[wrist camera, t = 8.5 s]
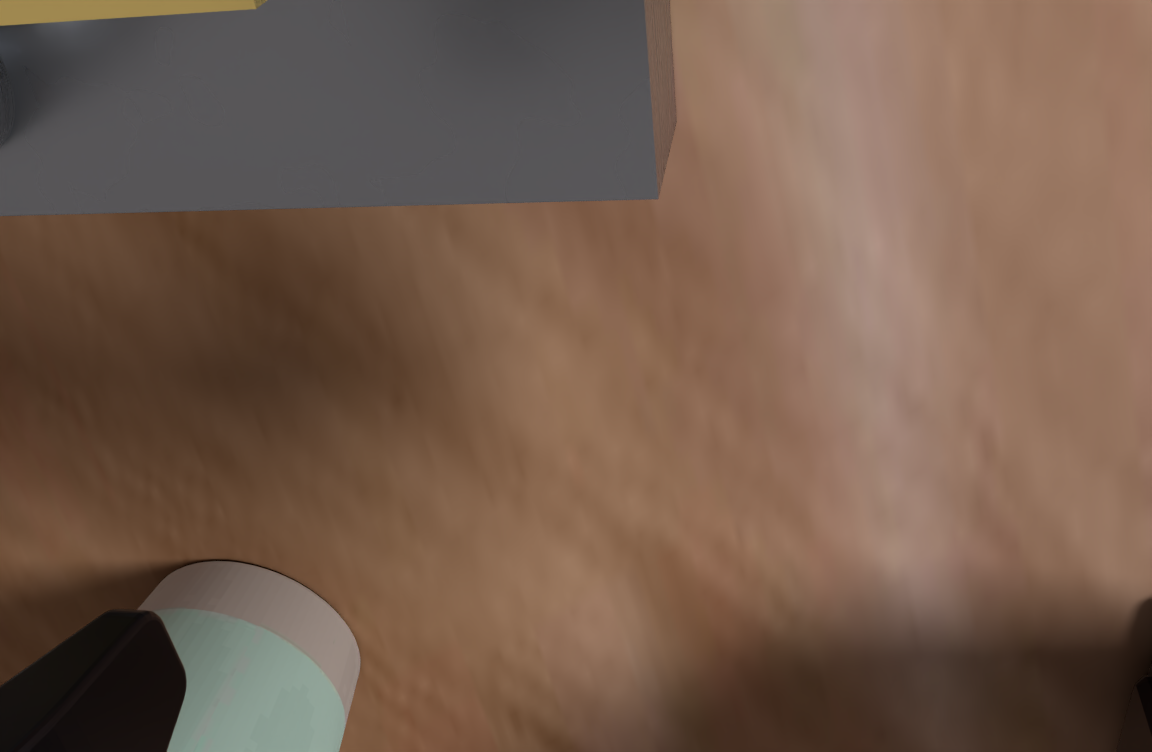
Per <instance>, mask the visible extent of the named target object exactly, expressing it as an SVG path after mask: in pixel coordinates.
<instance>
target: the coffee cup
mask: <svg viewBox="0 0 1152 752" xmlns="http://www.w3.org/2000/svg"><path fill="white" fill-rule="evenodd" d="M137 610H149V611H153V612H155V613H156V614H157V615H158V616H160V617H161V619H162V621H163V623H164V625H165V627H166V629H167V631H168V633H169V635H170V638H171V640H172V642H173V644H174V646H175V648H176V651H177V653H178V655H179V657H180V659H181V661H182V664H183V666H184V669H185V672H186V679H187V686H186V693H185V698H184V701H183V704H182V708H181V711H180V714H179V717H178V720H177V723H176V726H175V729H174V732H173V735H172V738H171V741H170V744H169V747H168V750H167V752H339V749H340V745H341V741H342V738H343V734H344V730H345V726H346V722H347V718H348V714H349V710H350V706H351V703H352V699H353V695H354V691H355V687H356V683H357V679H358V676H359V672H360V653H359V649H358V646H357V643H356V640H355V638H354V636H353V634H352V632H351V630H350V629H349V627H348V626H347V624H346V623H345V622H344V620H343V619H342V618H341V617H340V615H339V614H338V613H337V612H336V611H335V610H334V609H333V608H332V607H331V606H330V605H329V604H328V603H327V602H326V601H324V600H323V599H322V598H321V597H319V596H318V595H317V594H315V593H314V592H313V591H311V590H310V589H308V588H306V587H305V586H303V585H301V584H300V583H298V582H296V581H294V580H292V579H290V578H288V577H286V576H284V575H281V574H279V573H276V572H274V571H271V570H268V569H265V568H262V567H258V566H254V565H249V564H245V563H238V562H230V561H210V562H201V563H196V564H191V565H188V566H185V567H182V568H180V569H178V570H176V571H174V572H172V573H171V574H169V575H168V576H167V577H165V578H164V579H163V580H162V581H161V582H160V583H159V585H158V586H157V587H156V588H155V589H154V590H153V592H152V593H151V594H150V595H149V596H148V597H147V599H146V600H145V601H144V602H143V603H142V604H141V606H140V607H139V608H138V609H137Z"/></svg>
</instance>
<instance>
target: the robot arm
mask: <svg viewBox="0 0 1152 752" xmlns="http://www.w3.org/2000/svg"><path fill="white" fill-rule="evenodd" d="M186 686H187V679H186V672H185V669H184V666H183V664H182V661H181V659H180V657H179V655H178V653H177V651H176V648H175V646H174V644H173V642H172V640H171V638H170V635H169V633H168V631H167V629H166V627H165V625H164V623H163V621H162V619H161V617H160V616H158V615H157V614H156V613H155V612H153V611H149V610H134V609H113V610H110V611H107V612H105V613H104V614H102V615H100V616H99V617H97V618H96V619H95V620H93V621H92V622H90V623H89V624H87V625H86V626H85V627H83V628H82V629H80V630H79V631H78V632H76V633H75V634H73V635H72V636H71V637H69V638H68V639H66V640H65V641H63V642H62V643H61V644H59V645H58V646H56V647H55V648H54V649H52V650H51V651H49V652H48V653H47V654H45V655H44V656H42V657H41V658H39V659H38V660H37V661H35V662H34V663H32V664H31V665H30V666H28V667H27V668H25V669H24V670H23V671H21V672H20V673H18V674H17V675H15V676H14V677H13V678H11V679H10V680H8V681H7V682H6V683H4V684H3V685H1V686H0V752H167V750H168V747H169V744H170V741H171V738H172V735H173V732H174V729H175V726H176V723H177V720H178V717H179V714H180V711H181V708H182V704H183V701H184V698H185V693H186ZM1116 752H1152V662H1151V666H1150V669H1149V673H1148V676H1143V677H1142V678H1141V679H1140V680H1139V681H1138V682H1137V683H1136V684H1135V685H1134V688H1133V692H1132V696H1131V699H1130V703H1129V706H1128V710H1127V714H1126V717H1125V721H1124V725H1123V728H1122V732H1121V735H1120V739H1119V743H1118V746H1117V750H1116Z"/></svg>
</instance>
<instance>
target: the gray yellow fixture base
mask: <svg viewBox="0 0 1152 752" xmlns="http://www.w3.org/2000/svg"><path fill="white" fill-rule="evenodd" d="M676 122H677V121H676V104H675V87H674V70H673V53H672V36H671V19H670V2H669V0H0V216H20V215H59V214H97V213H136V212H175V211H214V210H253V209H292V208H330V207H369V206H408V205H447V204H486V203H524V202H563V201H602V200H641V199H658V198H659V194H660V190H661V186H662V181H663V177H664V173H665V169H666V164H667V160H668V156H669V152H670V147H671V143H672V139H673V135H674V130H675V126H676Z"/></svg>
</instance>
